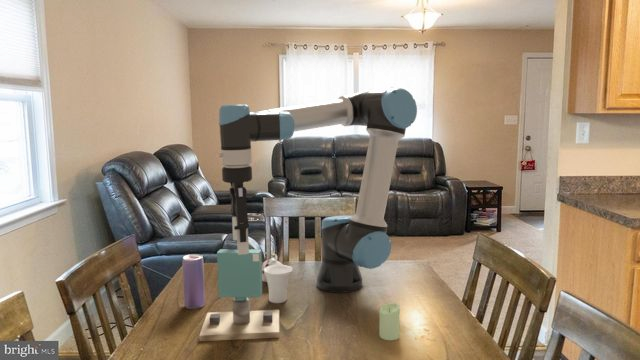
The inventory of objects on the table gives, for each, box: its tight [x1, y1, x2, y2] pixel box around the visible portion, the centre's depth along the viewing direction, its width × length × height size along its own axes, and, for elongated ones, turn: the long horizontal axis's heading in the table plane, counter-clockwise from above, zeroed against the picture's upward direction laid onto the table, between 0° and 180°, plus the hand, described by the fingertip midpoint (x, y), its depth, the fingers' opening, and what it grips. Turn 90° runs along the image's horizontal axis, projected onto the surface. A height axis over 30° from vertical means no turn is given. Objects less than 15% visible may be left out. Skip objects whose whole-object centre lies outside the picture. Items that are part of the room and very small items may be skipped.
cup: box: [264, 264, 294, 304], centre depth 146 cm, size 9×9×10 cm
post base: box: [198, 297, 280, 342], centre depth 128 cm, size 20×14×8 cm
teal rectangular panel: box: [216, 248, 263, 302], centre depth 127 cm, size 3×11×13 cm, turn 88°
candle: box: [378, 302, 401, 341], centre depth 122 cm, size 5×5×8 cm
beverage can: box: [182, 253, 206, 310], centre depth 142 cm, size 6×6×15 cm
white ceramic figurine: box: [262, 253, 284, 283], centre depth 162 cm, size 10×8×15 cm
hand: (240, 246), depth 126 cm, fingers open, 13 cm apart
